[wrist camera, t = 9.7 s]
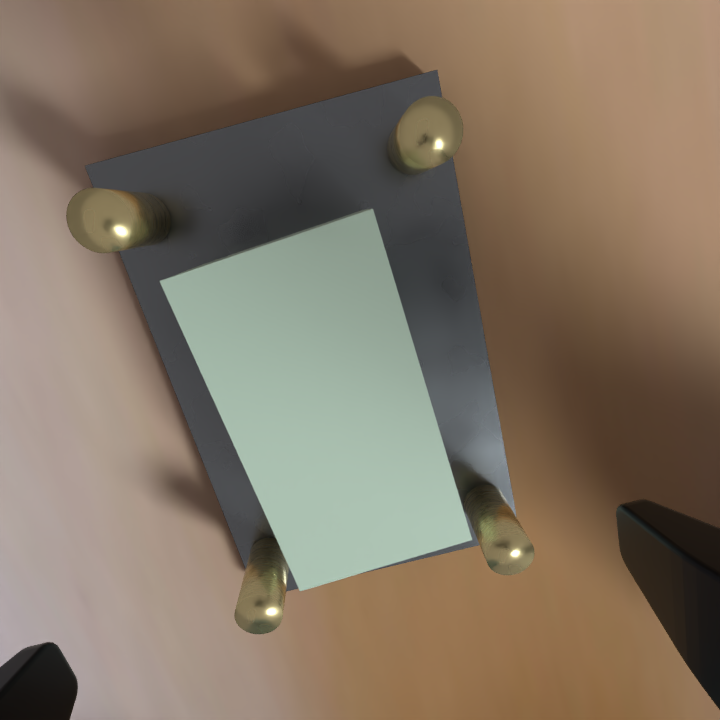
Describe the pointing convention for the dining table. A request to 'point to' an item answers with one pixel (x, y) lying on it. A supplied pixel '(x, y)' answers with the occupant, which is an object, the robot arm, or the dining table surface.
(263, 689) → the dining table surface
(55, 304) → the dining table surface
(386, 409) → the pale green block
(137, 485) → the dining table surface
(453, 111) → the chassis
